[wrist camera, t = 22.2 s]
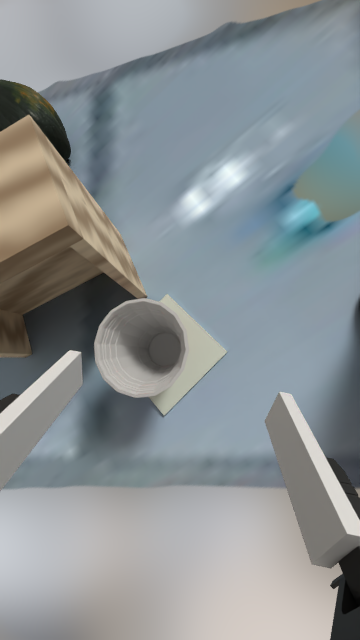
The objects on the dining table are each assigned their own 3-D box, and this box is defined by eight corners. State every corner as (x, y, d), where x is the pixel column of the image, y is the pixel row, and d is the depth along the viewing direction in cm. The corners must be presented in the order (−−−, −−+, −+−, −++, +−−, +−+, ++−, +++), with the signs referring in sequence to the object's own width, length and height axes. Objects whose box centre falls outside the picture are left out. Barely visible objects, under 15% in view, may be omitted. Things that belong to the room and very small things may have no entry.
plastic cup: (143, 393, 32) (103, 412, 21) (127, 330, 35) (83, 317, 23) (207, 372, 31) (202, 381, 20) (185, 309, 34) (170, 284, 22)
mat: (227, 351, 32) (227, 351, 31) (165, 414, 32) (164, 415, 31) (167, 294, 35) (167, 294, 35) (111, 351, 35) (110, 351, 35)
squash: (70, 155, 38) (0, 35, 30) (7, 192, 40) (-76, 89, 32) (88, 161, 50) (41, 76, 42) (39, 190, 52) (-16, 114, 43)
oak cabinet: (147, 296, 36) (68, 225, 17) (25, 357, 38) (-172, 356, 19) (120, 233, 40) (29, 114, 20) (10, 292, 41) (-170, 234, 22)
